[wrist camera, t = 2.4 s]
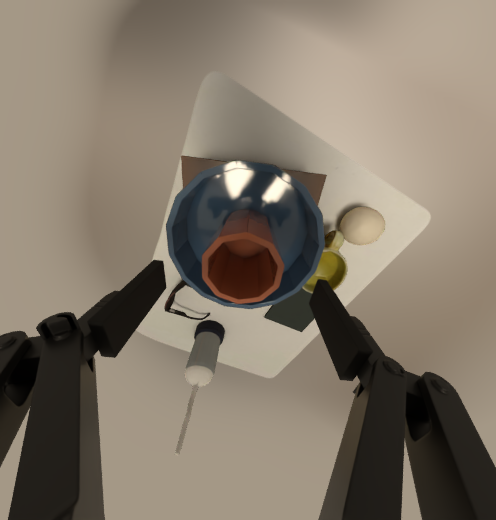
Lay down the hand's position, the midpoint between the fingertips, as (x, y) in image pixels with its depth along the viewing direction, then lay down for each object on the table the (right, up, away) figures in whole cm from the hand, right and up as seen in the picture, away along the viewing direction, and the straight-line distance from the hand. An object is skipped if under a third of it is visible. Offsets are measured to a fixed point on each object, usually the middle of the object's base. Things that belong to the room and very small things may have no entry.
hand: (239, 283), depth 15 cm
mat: (+14, -10, +31) cm, 35 cm away
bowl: (+1, +6, +11) cm, 12 cm away
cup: (0, +5, +10) cm, 12 cm away
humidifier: (-10, -19, +36) cm, 42 cm away
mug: (+15, +4, +23) cm, 28 cm away
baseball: (+22, +10, +20) cm, 31 cm away
